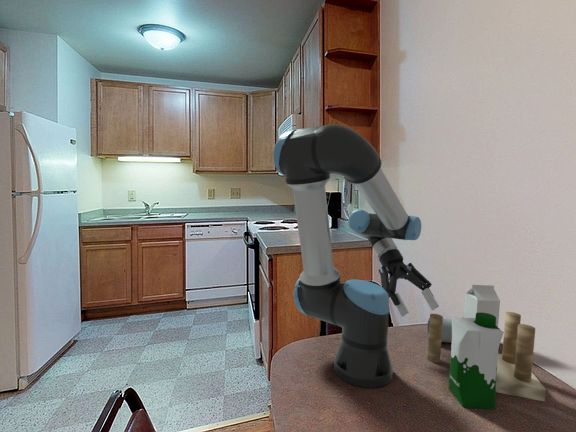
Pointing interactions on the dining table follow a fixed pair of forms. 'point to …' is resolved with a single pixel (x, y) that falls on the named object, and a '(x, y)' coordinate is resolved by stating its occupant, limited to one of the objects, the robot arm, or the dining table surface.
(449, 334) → the ceramic mug
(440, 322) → the loose leg
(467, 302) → the milk carton
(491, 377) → the soya milk
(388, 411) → the dining table surface
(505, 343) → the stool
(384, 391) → the dining table surface
